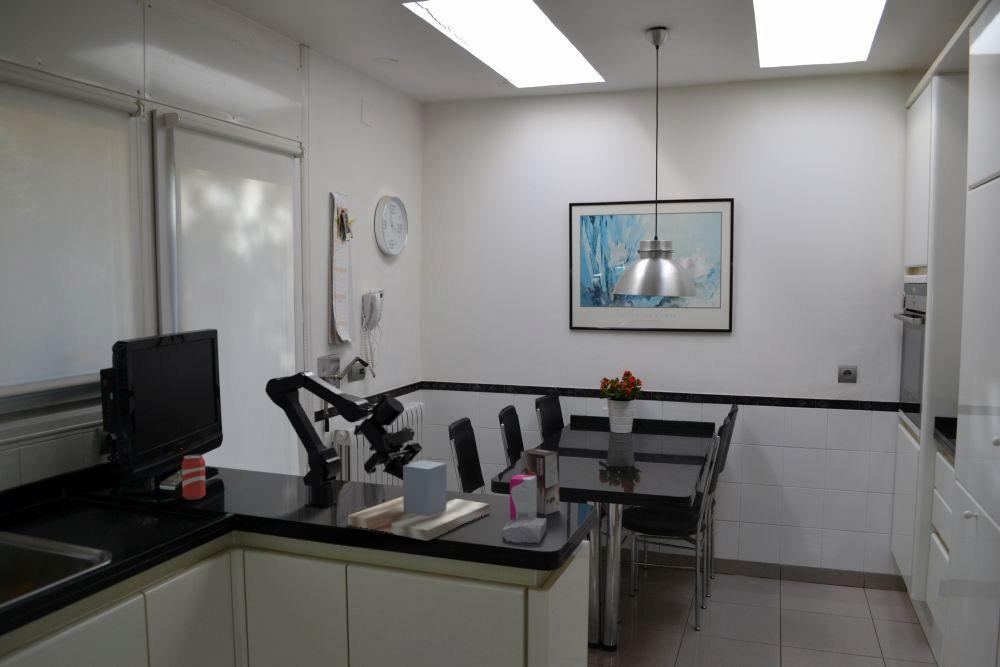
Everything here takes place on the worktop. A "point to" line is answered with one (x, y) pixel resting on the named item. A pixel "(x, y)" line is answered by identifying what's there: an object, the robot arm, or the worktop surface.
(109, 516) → the worktop surface
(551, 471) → the coffee box
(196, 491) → the beverage can
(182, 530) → the worktop surface
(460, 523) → the trap board
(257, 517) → the worktop surface
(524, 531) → the stone block
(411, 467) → the slate block
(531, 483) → the supplement box
